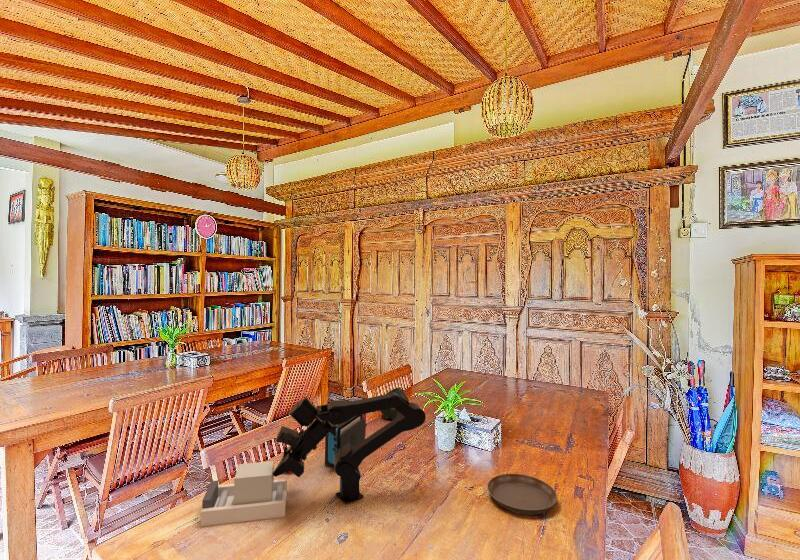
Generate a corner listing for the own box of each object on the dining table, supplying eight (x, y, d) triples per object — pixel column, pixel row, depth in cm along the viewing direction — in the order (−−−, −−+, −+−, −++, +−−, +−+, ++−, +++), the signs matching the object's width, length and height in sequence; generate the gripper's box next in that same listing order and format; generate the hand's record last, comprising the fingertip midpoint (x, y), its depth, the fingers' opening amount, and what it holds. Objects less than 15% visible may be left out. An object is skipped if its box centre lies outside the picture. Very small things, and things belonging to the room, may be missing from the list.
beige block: (273, 487, 125) (273, 461, 125) (271, 502, 116) (271, 475, 116) (238, 490, 123) (239, 464, 123) (234, 507, 114) (234, 478, 114)
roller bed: (286, 491, 129) (287, 478, 129) (284, 516, 115) (285, 502, 115) (211, 498, 124) (212, 485, 124) (200, 526, 110) (200, 511, 110)
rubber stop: (218, 496, 123) (218, 480, 122) (209, 517, 112) (210, 499, 112) (210, 497, 122) (211, 481, 122) (202, 518, 112) (202, 500, 112)
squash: (369, 408, 195) (390, 386, 192) (380, 400, 209) (400, 380, 206) (389, 431, 191) (411, 409, 188) (399, 421, 205) (419, 401, 202)
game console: (334, 474, 140) (335, 432, 140) (318, 471, 142) (319, 429, 142) (369, 443, 166) (369, 408, 166) (355, 441, 169) (355, 406, 169)
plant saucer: (551, 528, 112) (552, 516, 112) (479, 507, 122) (479, 496, 122) (560, 493, 131) (560, 483, 131) (496, 477, 140) (496, 468, 140)
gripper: (294, 408, 131) (257, 444, 129) (292, 429, 113) (249, 472, 111) (318, 431, 133) (282, 467, 131) (320, 455, 115) (279, 498, 112)
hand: (273, 475), depth 121 cm, fingers closed
